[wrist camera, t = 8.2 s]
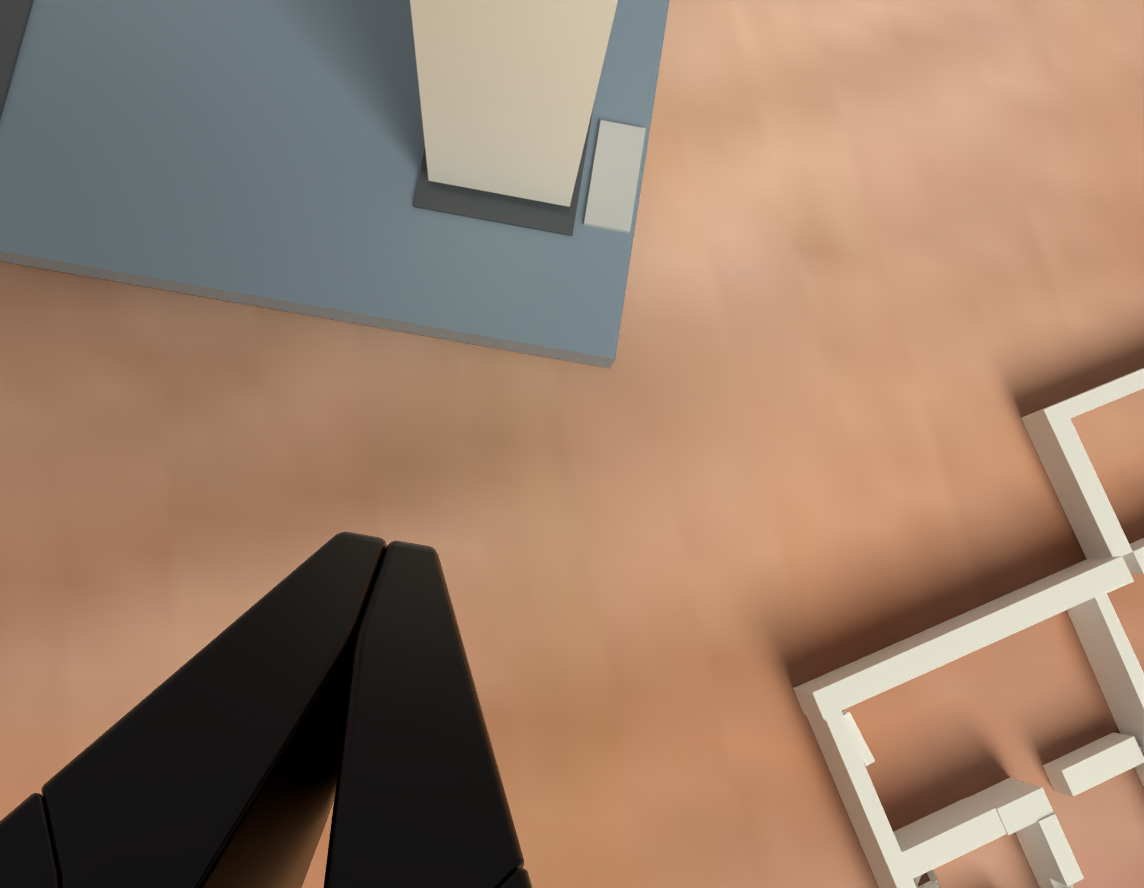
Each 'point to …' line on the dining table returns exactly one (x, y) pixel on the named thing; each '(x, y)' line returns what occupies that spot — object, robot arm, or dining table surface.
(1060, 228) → the dining table surface
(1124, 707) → the floor plan model
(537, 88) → the cream tall block
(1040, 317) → the dining table surface
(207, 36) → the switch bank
